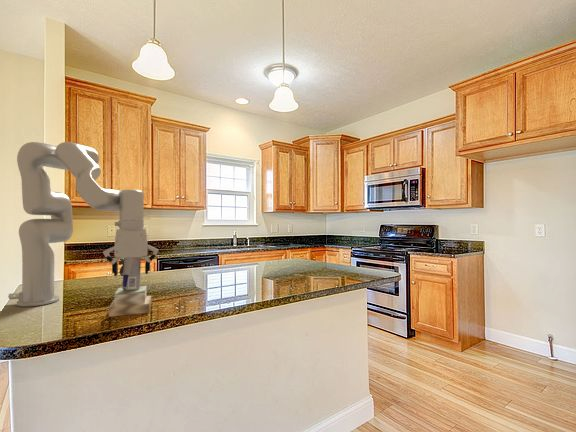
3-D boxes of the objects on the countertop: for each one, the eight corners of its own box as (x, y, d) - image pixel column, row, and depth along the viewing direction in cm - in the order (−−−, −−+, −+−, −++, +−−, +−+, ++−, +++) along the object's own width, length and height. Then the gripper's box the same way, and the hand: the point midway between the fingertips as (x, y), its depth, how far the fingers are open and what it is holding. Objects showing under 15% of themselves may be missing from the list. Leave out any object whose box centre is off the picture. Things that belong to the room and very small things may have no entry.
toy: (125, 298, 124) (125, 260, 124) (113, 297, 125) (113, 260, 125) (139, 293, 132) (139, 258, 132) (128, 292, 133) (128, 257, 134)
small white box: (108, 316, 101) (108, 294, 101) (114, 306, 112) (114, 287, 112) (149, 312, 105) (149, 291, 105) (151, 303, 116) (151, 284, 116)
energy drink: (126, 287, 111) (128, 253, 111) (142, 287, 112) (143, 254, 112) (119, 290, 106) (121, 255, 106) (136, 290, 106) (137, 255, 107)
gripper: (101, 225, 102) (100, 277, 102) (158, 225, 108) (158, 274, 108) (105, 225, 109) (105, 274, 109) (158, 224, 115) (158, 271, 115)
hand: (131, 274), depth 109 cm, fingers open, 9 cm apart
